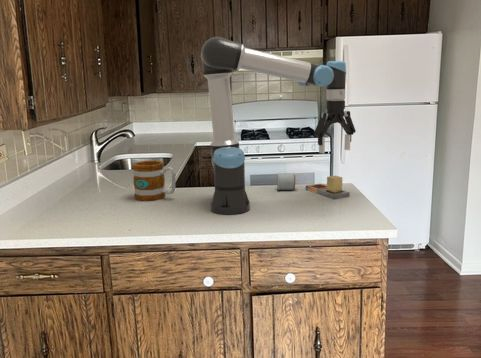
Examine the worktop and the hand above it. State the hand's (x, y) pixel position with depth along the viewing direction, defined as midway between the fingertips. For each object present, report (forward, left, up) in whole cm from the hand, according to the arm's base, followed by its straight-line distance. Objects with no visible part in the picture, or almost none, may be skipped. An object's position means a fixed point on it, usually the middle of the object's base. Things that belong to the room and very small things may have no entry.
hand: (334, 151), depth 194 cm
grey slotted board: (0, +5, -19) cm, 19 cm away
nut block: (0, 0, -19) cm, 19 cm away
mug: (-66, +38, -19) cm, 78 cm away
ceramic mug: (-11, +21, -19) cm, 30 cm away
